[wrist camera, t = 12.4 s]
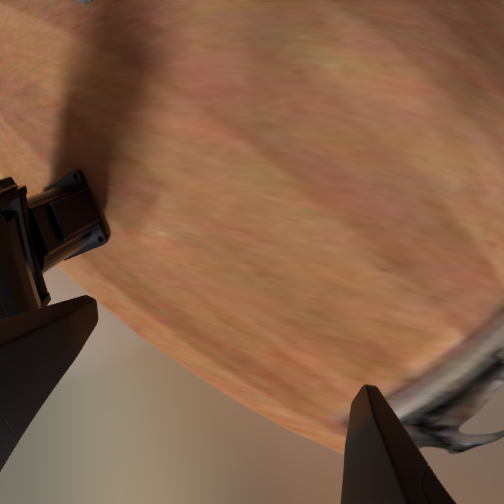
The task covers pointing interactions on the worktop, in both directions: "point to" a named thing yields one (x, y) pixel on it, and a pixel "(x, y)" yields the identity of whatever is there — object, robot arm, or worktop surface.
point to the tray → (84, 1)
